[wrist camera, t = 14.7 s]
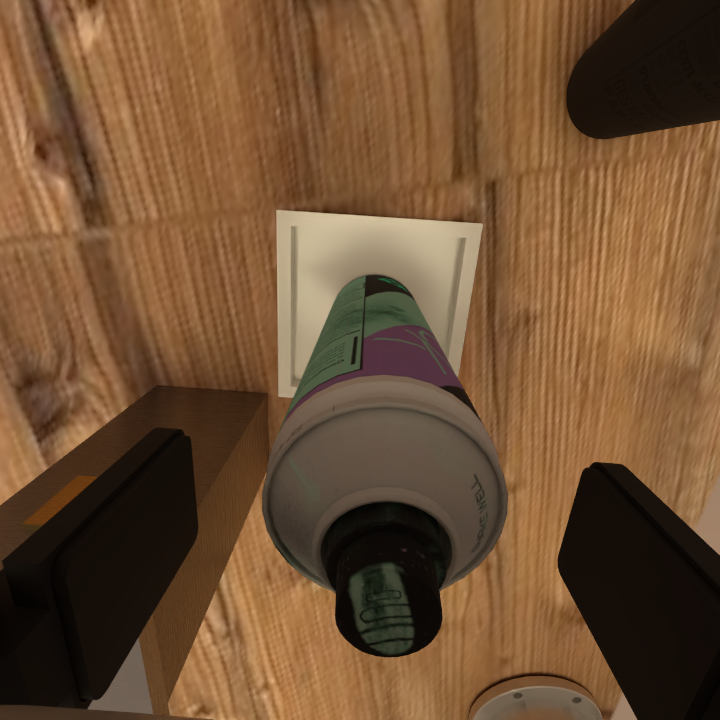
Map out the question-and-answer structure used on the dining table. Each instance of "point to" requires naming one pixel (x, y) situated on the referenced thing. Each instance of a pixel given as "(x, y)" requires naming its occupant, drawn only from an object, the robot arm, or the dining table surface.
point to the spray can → (383, 472)
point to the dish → (369, 256)
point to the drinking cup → (650, 70)
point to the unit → (214, 509)
